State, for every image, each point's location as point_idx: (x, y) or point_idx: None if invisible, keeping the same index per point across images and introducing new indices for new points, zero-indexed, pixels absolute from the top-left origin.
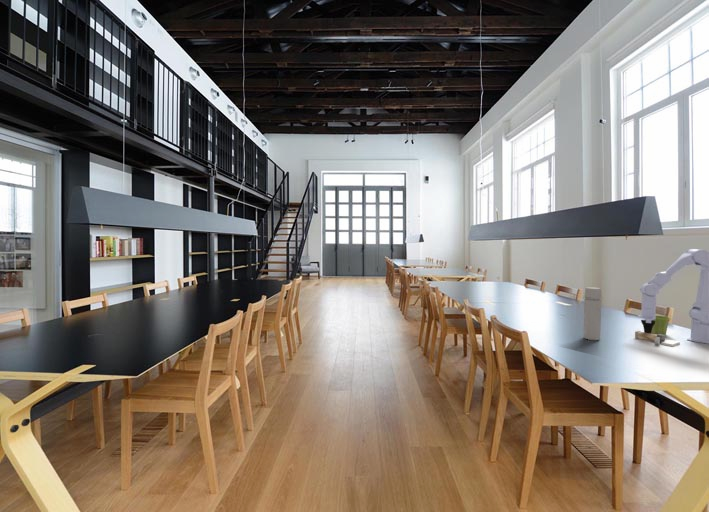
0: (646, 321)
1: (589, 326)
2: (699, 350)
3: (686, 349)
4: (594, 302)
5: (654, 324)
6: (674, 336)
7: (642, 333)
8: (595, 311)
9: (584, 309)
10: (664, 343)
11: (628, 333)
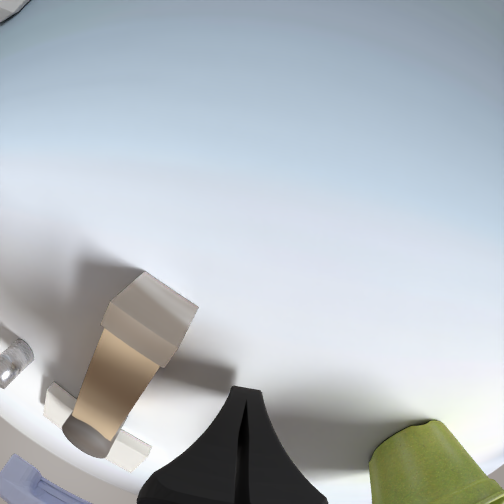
0: (8, 466)
1: None
2: (67, 459)
3: (44, 429)
4: None
5: (403, 494)
6: (342, 489)
7: (96, 353)
8: None
9: None
10: (47, 394)
11: (374, 256)
